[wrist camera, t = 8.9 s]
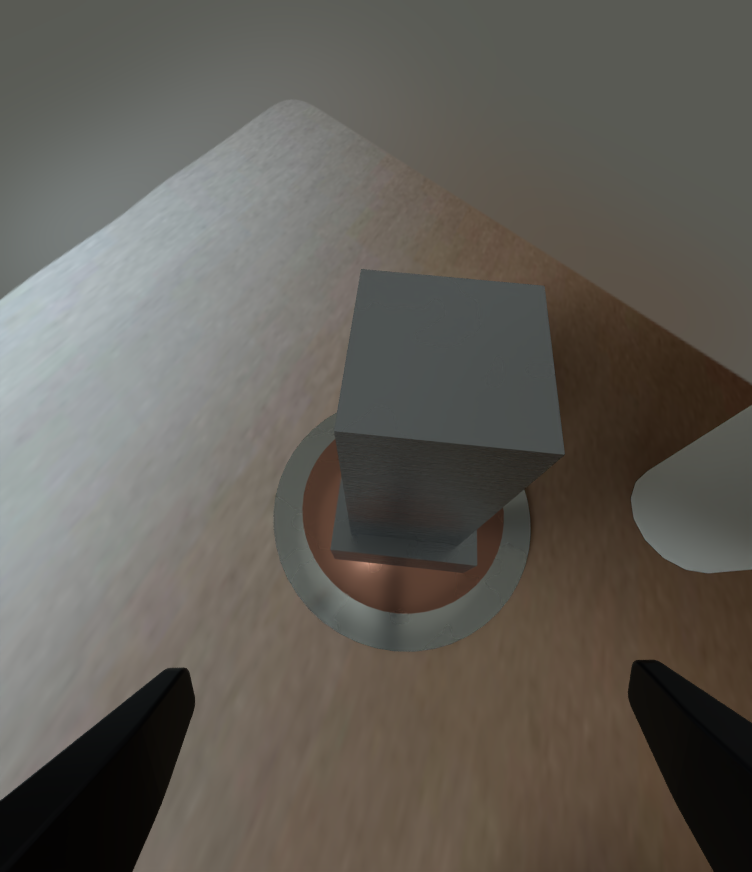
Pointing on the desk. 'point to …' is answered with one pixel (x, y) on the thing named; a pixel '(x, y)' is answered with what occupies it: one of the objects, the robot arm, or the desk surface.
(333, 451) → the copper centred dish
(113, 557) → the desk surface
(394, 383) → the grey stepped block
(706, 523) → the white cup
